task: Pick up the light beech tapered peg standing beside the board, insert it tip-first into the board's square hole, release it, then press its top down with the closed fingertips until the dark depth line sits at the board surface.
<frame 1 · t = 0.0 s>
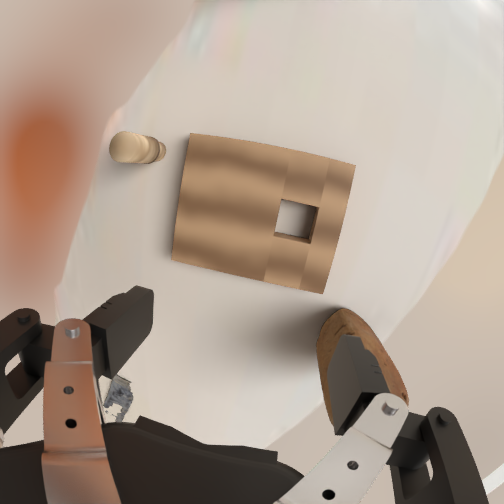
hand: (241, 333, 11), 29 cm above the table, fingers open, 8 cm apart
board: (295, 218, 39), on the table
peg: (157, 151, 38), on the table
block: (348, 332, 42), on the table
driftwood: (118, 398, 55), on the table
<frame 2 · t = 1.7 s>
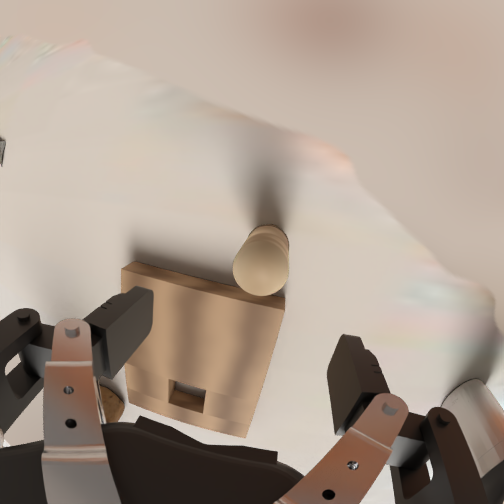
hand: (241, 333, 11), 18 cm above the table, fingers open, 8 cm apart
board: (192, 383, 35), on the table
peg: (269, 238, 29), on the table
block: (106, 400, 40), on the table
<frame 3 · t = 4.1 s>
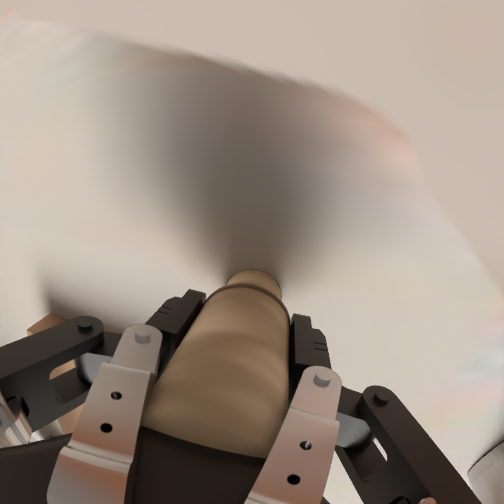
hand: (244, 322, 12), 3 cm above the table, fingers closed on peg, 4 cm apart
board: (155, 463, 21), on the table
peg: (252, 296, 15), on the table, touching gripper
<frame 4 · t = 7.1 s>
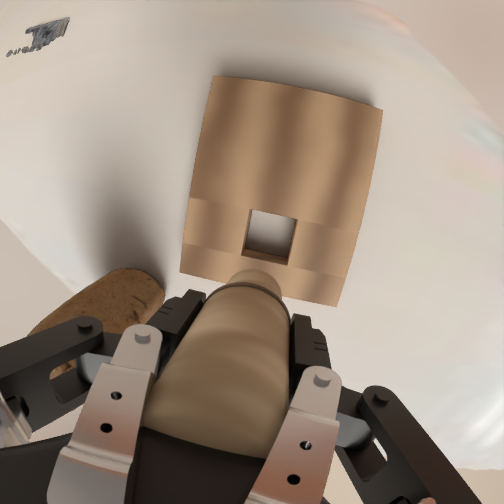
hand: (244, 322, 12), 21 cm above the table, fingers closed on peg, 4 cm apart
board: (270, 232, 32), on the table
peg: (252, 296, 14), point 18 cm above the table, touching gripper
block: (137, 298, 36), on the table
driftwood: (39, 37, 27), on the table
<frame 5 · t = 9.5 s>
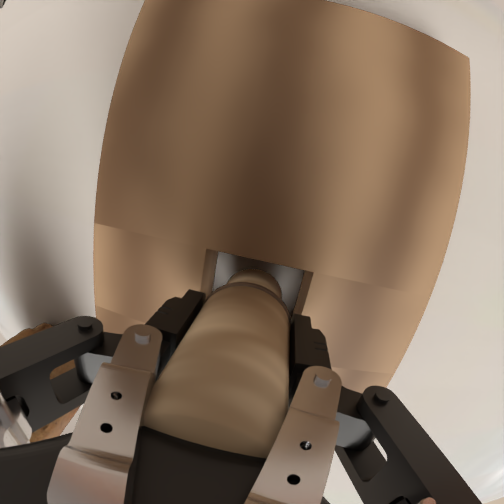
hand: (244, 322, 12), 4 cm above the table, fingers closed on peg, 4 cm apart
board: (256, 285, 16), on the table
peg: (252, 295, 15), point 2 cm above the table, touching gripper
block: (68, 362, 21), on the table
when the fingers open (4 cm above the table, at t = 10.3 s): peg drops 1 cm, resting in board.
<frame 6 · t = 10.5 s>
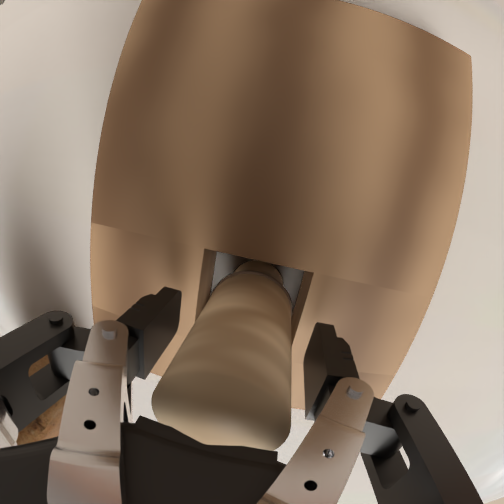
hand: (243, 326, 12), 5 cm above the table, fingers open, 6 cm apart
board: (255, 286, 16), on the table
peg: (256, 285, 16), resting in board
block: (66, 362, 21), on the table
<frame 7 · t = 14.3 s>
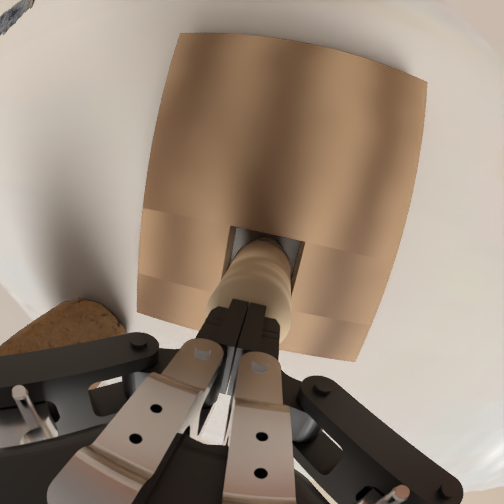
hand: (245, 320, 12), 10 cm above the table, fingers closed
board: (263, 256, 22), on the table
peg: (265, 256, 22), resting in board, touching gripper
block: (97, 334, 27), on the table
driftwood: (5, 25, 17), on the table
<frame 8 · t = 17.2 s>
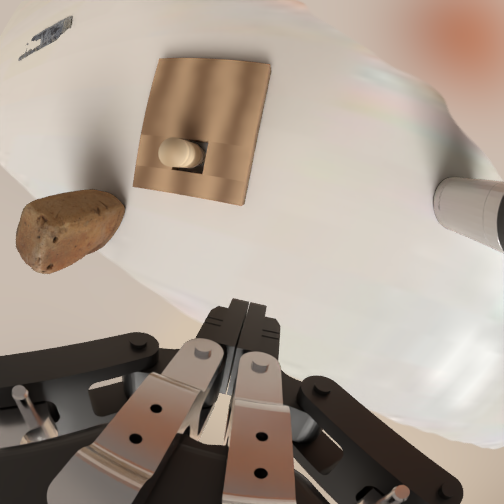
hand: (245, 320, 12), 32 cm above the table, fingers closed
board: (195, 156, 42), on the table
peg: (196, 156, 42), resting in board
block: (106, 218, 47), on the table
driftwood: (46, 38, 37), on the table
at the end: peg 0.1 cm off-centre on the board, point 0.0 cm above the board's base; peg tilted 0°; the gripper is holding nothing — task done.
